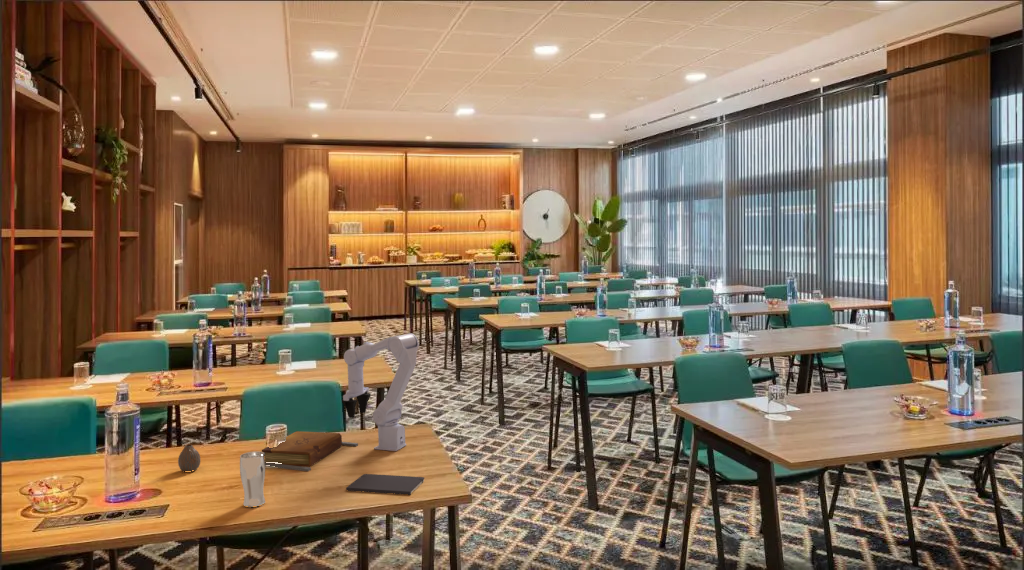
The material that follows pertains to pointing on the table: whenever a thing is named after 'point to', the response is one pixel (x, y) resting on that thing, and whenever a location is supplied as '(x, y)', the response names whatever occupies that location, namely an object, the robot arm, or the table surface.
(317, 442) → the diary
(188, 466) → the grey teardrop shape
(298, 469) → the flat grey piece
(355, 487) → the notebook
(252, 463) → the beer glass
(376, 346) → the robot arm
